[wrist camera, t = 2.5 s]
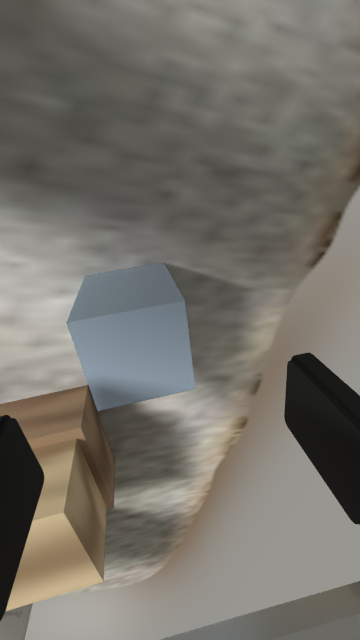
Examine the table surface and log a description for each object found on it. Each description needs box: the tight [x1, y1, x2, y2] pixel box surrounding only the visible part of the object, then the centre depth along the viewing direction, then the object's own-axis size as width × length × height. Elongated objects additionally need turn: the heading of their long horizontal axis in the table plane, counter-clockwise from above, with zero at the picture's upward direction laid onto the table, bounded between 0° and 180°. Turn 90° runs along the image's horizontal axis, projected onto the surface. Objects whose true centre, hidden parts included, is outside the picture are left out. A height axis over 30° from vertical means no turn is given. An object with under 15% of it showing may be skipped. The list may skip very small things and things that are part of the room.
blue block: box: [67, 262, 196, 411], centre depth 14 cm, size 4×4×6 cm
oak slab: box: [6, 439, 107, 611], centre depth 15 cm, size 7×7×4 cm
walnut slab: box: [0, 385, 115, 510], centre depth 18 cm, size 8×8×4 cm
